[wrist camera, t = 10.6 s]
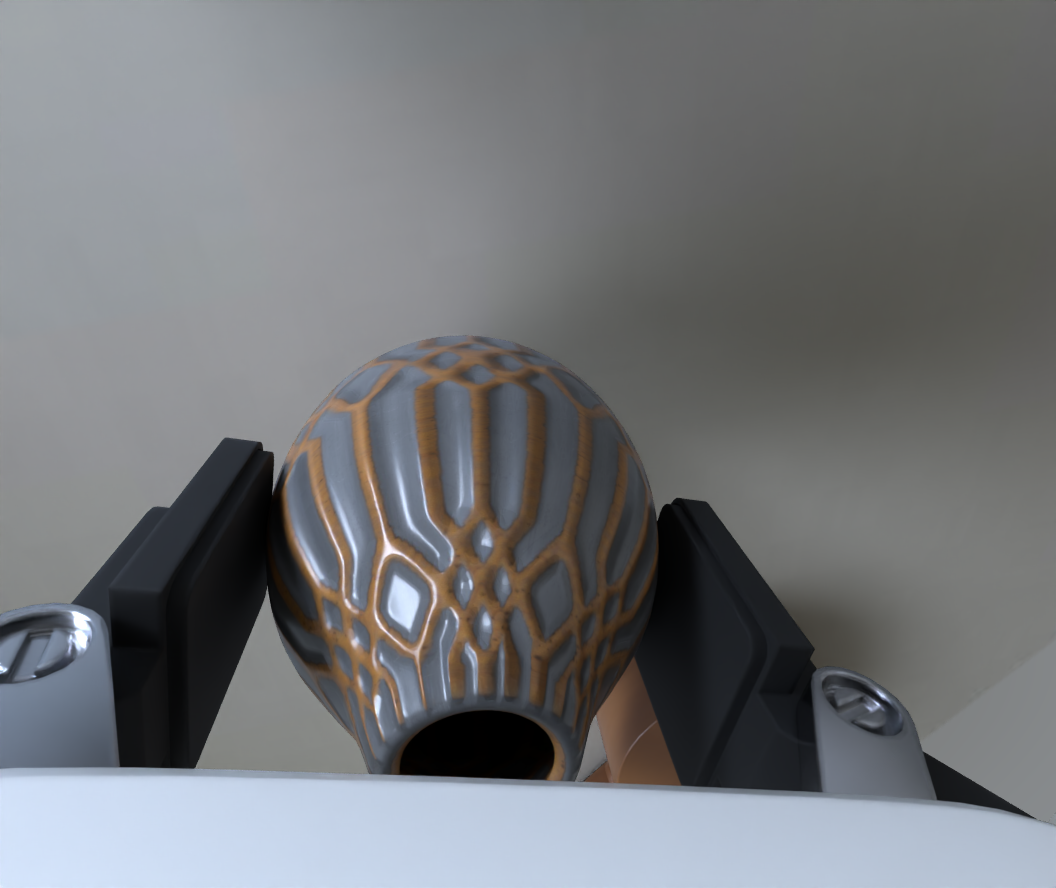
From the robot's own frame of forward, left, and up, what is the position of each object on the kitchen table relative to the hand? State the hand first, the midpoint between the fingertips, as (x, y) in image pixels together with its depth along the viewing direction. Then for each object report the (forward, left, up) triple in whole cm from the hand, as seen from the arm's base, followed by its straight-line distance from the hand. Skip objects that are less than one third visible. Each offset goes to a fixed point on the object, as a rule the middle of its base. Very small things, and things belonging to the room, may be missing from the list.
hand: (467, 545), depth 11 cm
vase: (0, 0, -4) cm, 4 cm away
